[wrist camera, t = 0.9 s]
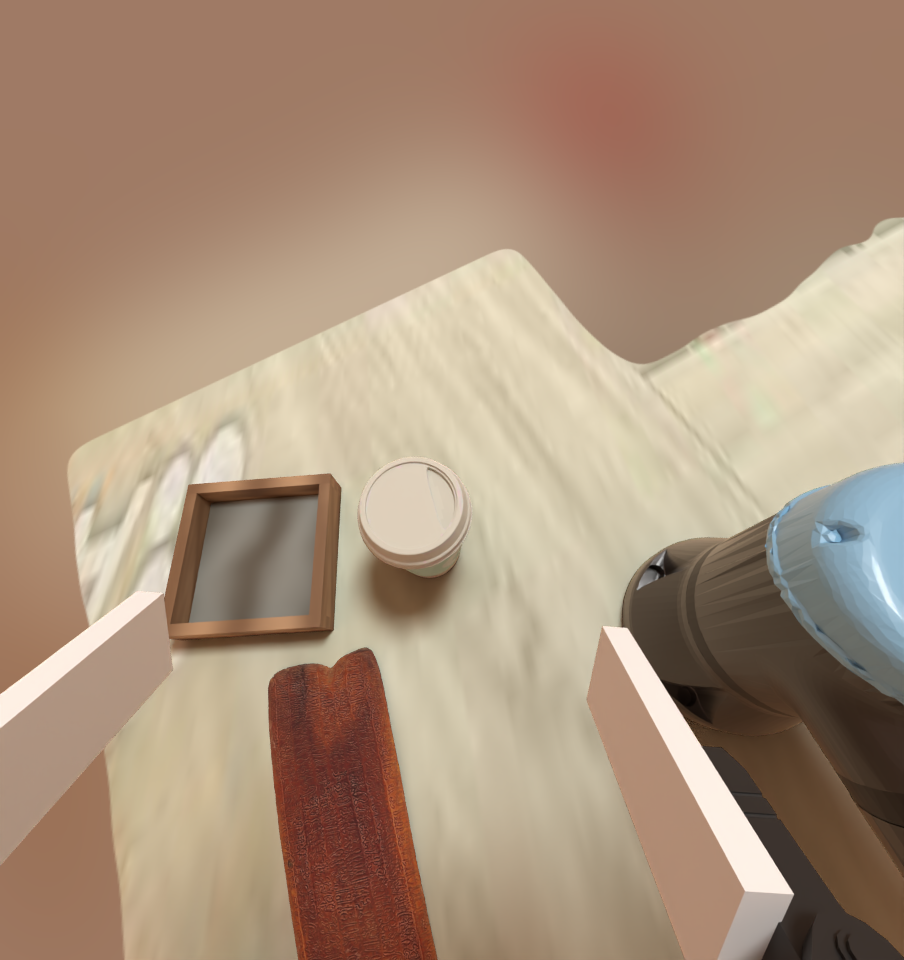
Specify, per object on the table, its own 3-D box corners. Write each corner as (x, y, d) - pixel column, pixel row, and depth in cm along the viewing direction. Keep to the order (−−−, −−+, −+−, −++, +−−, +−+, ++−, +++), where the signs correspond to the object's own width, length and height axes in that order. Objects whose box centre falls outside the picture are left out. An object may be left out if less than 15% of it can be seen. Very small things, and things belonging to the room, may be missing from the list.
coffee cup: (459, 604, 39) (450, 578, 28) (373, 577, 40) (332, 543, 29) (484, 518, 42) (485, 464, 31) (403, 496, 44) (376, 438, 33)
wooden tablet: (268, 675, 38) (259, 675, 37) (377, 641, 39) (372, 640, 37) (310, 1118, 27) (299, 1145, 26) (461, 1063, 28) (459, 1086, 26)
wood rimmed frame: (341, 487, 44) (330, 473, 41) (333, 630, 39) (319, 626, 35) (209, 497, 45) (188, 484, 42) (182, 640, 39) (155, 637, 36)
